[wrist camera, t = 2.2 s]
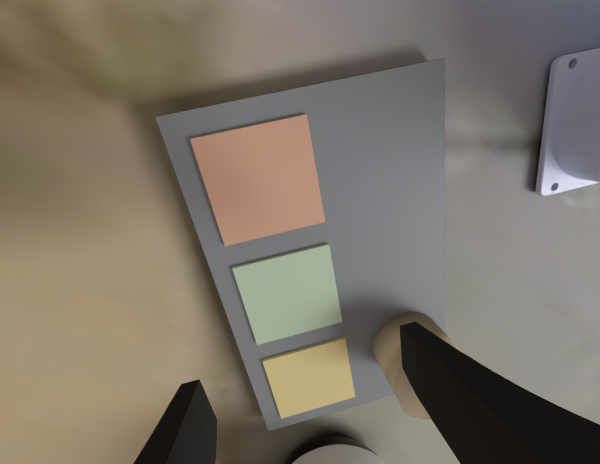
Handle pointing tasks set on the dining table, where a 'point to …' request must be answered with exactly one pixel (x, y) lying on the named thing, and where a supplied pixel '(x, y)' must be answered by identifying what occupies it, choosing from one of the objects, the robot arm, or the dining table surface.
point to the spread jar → (333, 452)
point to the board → (319, 227)
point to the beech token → (391, 360)
